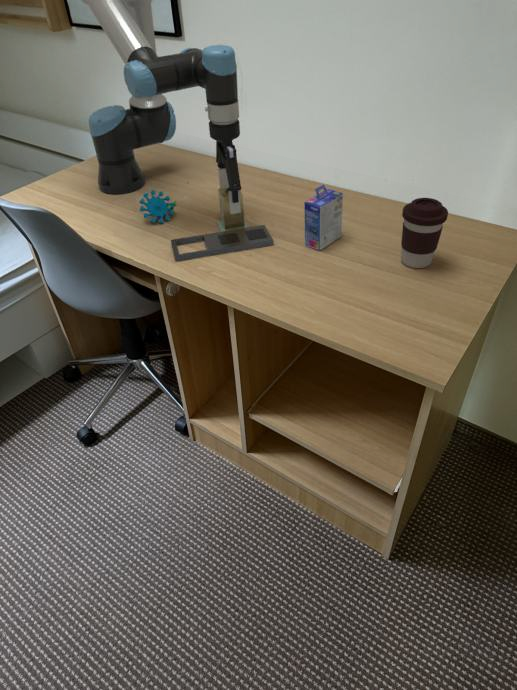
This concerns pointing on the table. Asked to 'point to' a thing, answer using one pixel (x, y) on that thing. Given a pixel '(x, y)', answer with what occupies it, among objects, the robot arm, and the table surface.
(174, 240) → the rail
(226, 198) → the wooden speaker box
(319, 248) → the ink cartridge box
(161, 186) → the table surface
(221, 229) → the translucent green panel
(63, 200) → the table surface
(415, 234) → the coffee cup
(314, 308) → the table surface
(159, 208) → the blue spiky knobbed toy
